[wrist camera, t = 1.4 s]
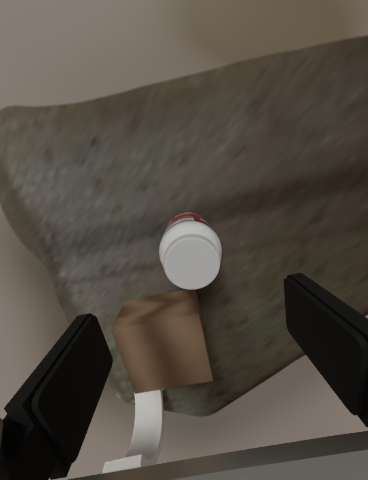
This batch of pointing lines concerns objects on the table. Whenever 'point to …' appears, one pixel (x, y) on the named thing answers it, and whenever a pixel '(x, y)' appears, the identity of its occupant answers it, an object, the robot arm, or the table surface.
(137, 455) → the headphone stand
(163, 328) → the walnut block
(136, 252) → the table surface
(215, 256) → the pill bottle
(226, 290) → the table surface
